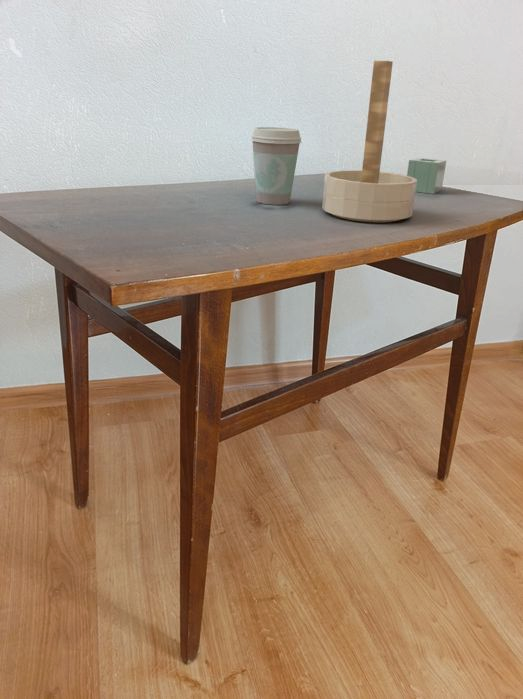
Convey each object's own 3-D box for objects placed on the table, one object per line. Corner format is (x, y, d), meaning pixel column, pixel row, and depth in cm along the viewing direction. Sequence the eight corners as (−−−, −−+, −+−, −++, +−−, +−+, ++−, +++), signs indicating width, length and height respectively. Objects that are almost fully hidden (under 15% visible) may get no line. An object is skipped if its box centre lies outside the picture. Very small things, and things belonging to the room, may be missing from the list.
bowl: (422, 213, 99) (428, 177, 97) (394, 228, 88) (399, 187, 85) (343, 202, 106) (346, 167, 103) (307, 215, 94) (310, 176, 92)
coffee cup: (238, 200, 103) (240, 127, 98) (271, 195, 109) (274, 126, 104) (275, 208, 98) (279, 131, 93) (307, 203, 104) (312, 130, 99)
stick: (375, 210, 97) (393, 61, 88) (370, 212, 95) (387, 60, 86) (362, 208, 98) (378, 61, 89) (357, 210, 96) (373, 60, 87)
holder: (441, 190, 123) (446, 160, 121) (433, 194, 118) (438, 162, 116) (413, 187, 126) (417, 157, 123) (404, 190, 121) (408, 159, 118)
